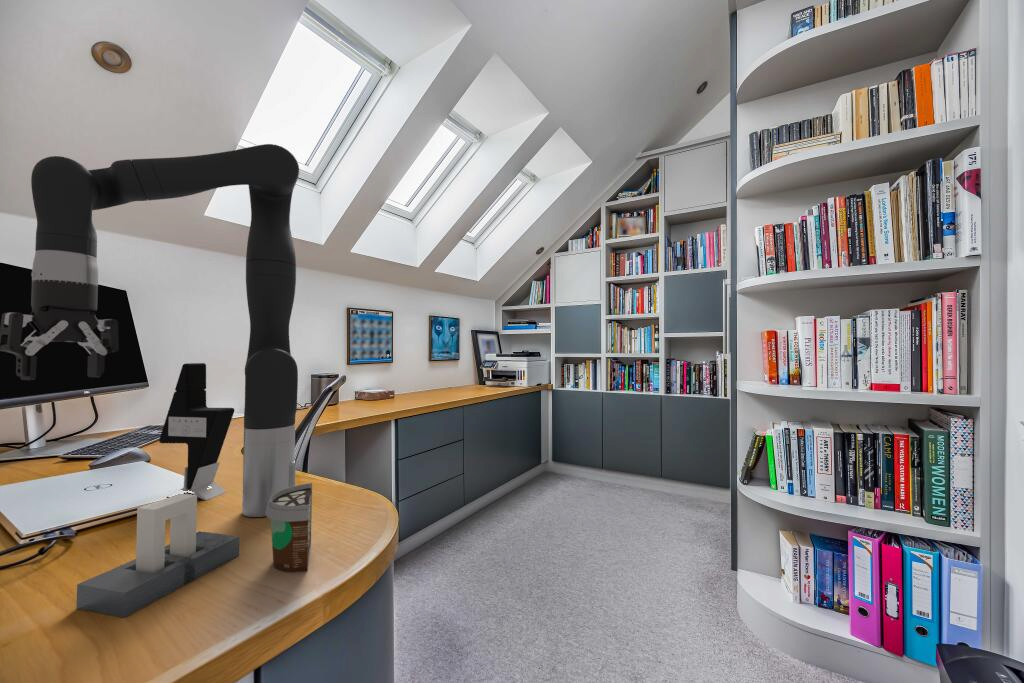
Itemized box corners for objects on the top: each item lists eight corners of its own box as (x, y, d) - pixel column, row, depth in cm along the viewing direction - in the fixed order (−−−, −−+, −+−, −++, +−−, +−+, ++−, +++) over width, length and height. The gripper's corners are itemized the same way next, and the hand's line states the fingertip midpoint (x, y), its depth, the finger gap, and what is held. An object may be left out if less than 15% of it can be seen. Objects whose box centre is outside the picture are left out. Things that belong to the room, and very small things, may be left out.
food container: (270, 547, 69) (271, 486, 69) (311, 540, 71) (312, 481, 71) (257, 585, 57) (259, 512, 58) (307, 575, 60) (308, 506, 60)
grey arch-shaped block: (179, 567, 62) (181, 493, 63) (195, 569, 62) (197, 495, 62) (135, 589, 56) (137, 507, 57) (152, 592, 56) (154, 509, 56)
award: (155, 496, 93) (159, 363, 94) (178, 489, 98) (181, 362, 99) (214, 500, 90) (217, 363, 91) (234, 492, 96) (236, 363, 96)
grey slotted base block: (198, 549, 68) (199, 531, 68) (238, 555, 66) (239, 536, 66) (76, 608, 52) (77, 584, 52) (124, 617, 50) (124, 592, 50)
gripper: (23, 272, 61) (19, 381, 61) (131, 287, 75) (128, 376, 75) (-12, 274, 63) (-15, 380, 63) (100, 289, 77) (98, 376, 77)
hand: (63, 378), depth 69 cm, fingers open, 8 cm apart
